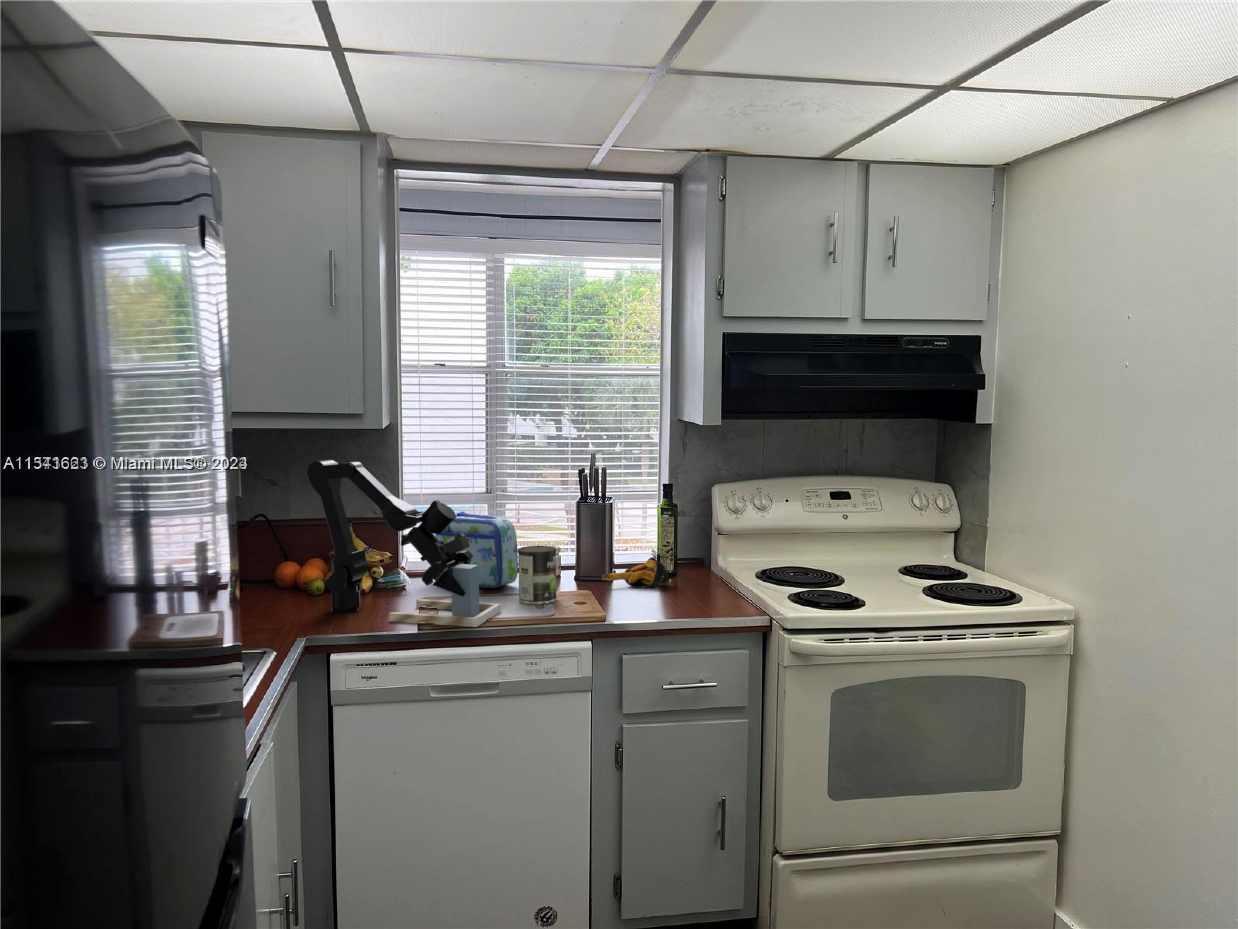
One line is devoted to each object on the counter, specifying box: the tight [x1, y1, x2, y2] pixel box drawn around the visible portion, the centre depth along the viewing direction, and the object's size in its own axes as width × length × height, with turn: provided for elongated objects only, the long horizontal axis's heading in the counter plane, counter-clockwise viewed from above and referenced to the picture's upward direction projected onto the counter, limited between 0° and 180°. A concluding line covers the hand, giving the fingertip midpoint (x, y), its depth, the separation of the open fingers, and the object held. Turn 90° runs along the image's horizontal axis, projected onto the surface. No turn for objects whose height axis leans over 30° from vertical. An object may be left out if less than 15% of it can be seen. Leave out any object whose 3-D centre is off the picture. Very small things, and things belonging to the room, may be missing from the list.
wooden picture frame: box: [388, 598, 502, 628], centre depth 219 cm, size 23×15×2 cm, turn 75°
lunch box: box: [434, 511, 519, 589], centre depth 255 cm, size 26×11×21 cm, turn 56°
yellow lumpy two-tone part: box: [601, 556, 670, 589], centre depth 250 cm, size 9×11×18 cm
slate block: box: [451, 564, 480, 617], centre depth 217 cm, size 5×5×13 cm
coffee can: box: [517, 545, 557, 605], centre depth 235 cm, size 10×10×14 cm
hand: (470, 591), depth 217 cm, fingers open, 7 cm apart
